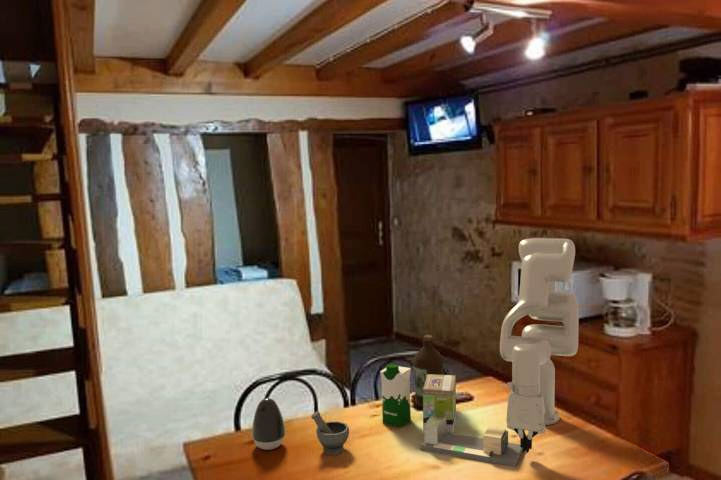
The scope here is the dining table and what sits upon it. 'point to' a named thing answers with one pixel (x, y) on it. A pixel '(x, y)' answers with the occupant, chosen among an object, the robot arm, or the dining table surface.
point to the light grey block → (435, 429)
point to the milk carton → (395, 395)
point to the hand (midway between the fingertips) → (526, 450)
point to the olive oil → (426, 366)
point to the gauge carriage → (495, 440)
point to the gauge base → (473, 449)
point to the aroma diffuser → (268, 425)
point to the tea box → (440, 399)
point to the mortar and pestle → (331, 434)
